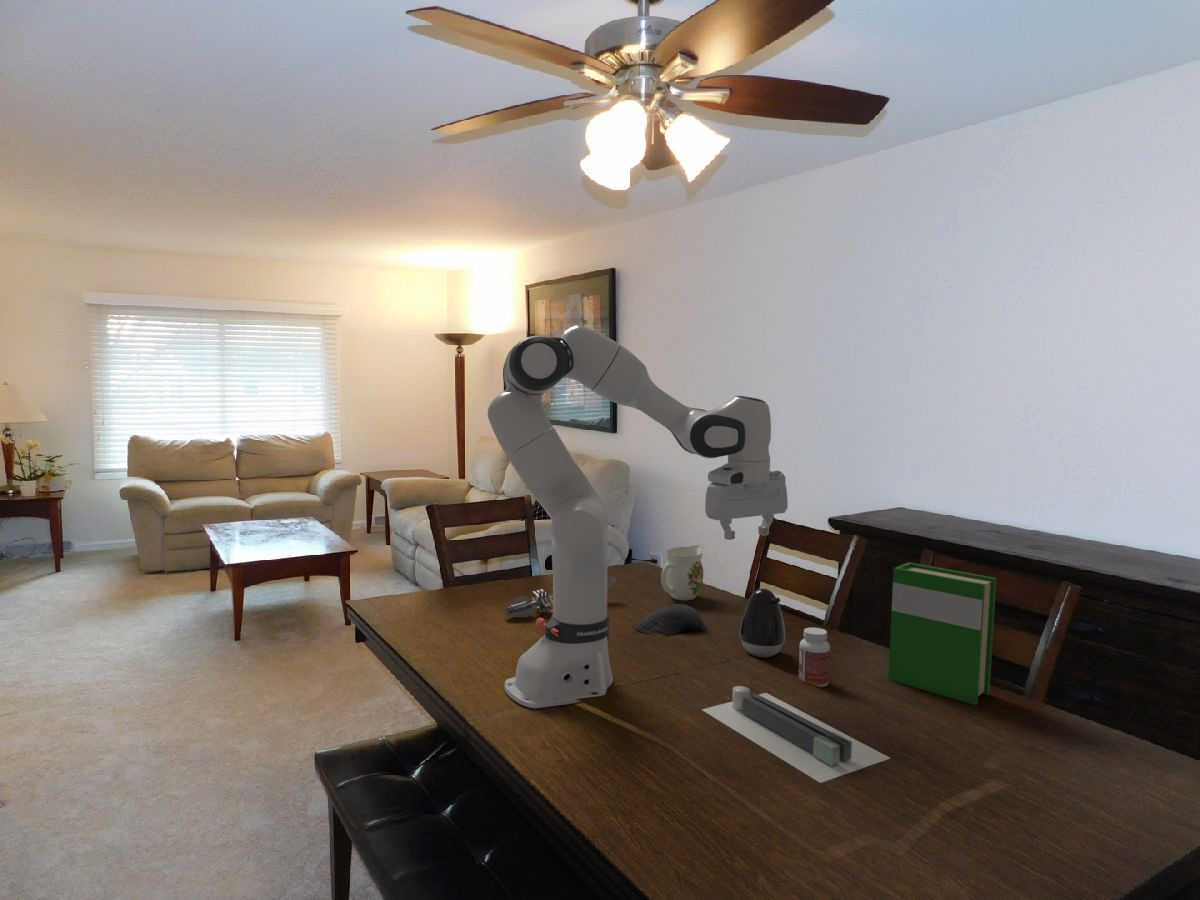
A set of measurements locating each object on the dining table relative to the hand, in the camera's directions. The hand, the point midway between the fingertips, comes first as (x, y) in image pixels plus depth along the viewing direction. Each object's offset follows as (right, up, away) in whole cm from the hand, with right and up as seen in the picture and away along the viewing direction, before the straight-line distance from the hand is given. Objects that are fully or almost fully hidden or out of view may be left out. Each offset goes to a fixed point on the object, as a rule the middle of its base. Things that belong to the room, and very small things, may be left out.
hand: (746, 537), depth 167 cm
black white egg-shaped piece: (+6, -28, +12) cm, 31 cm away
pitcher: (-8, -24, +56) cm, 61 cm away
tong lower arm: (+1, -31, -29) cm, 43 cm away
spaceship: (-41, -25, +44) cm, 65 cm away
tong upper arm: (+3, -31, -30) cm, 43 cm away
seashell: (-13, -27, +30) cm, 42 cm away
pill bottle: (+13, -30, -4) cm, 33 cm away
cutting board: (+2, -32, -29) cm, 43 cm away
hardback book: (+38, -31, -6) cm, 49 cm away
